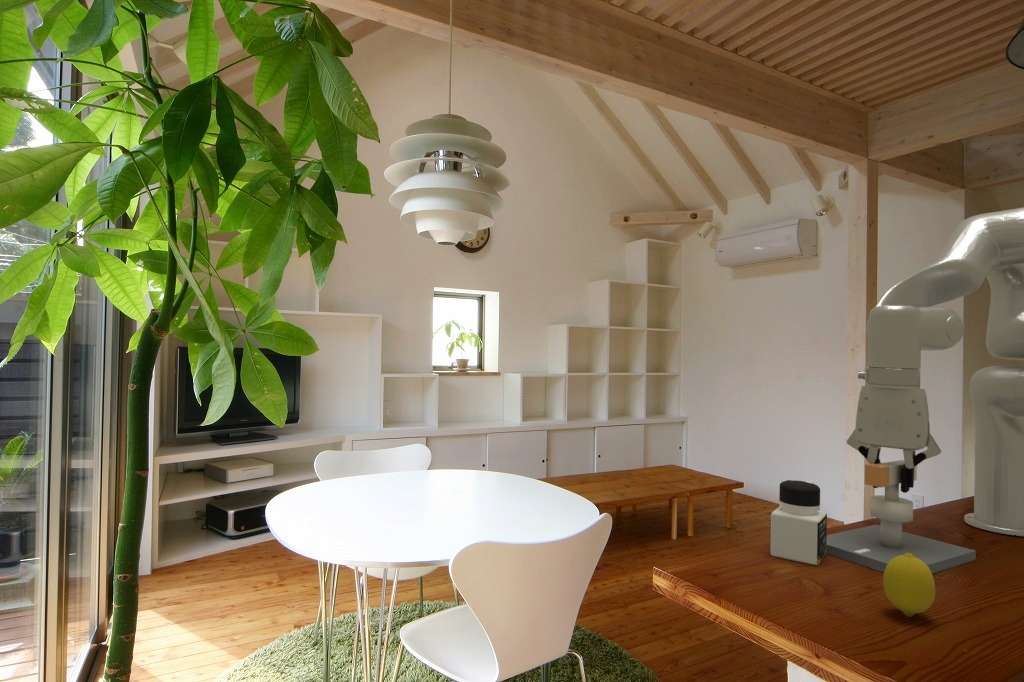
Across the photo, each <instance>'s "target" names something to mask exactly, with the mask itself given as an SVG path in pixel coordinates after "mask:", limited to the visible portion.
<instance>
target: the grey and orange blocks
mask: <svg viewBox="0 0 1024 682" xmlns="http://www.w3.org/2000/svg"><path fill="white" fill-rule="evenodd" d="M904 463H905V461H904V459H901V460H894V461H887V462H881V463H879V464H870V463H867V464H865V465H864V485H867V486H872V487H873V486H876V487H878V488H884V494H883V495H879V494H878V495H875V494H874V495H871V496H870V508H869V509H870V516H871V517H872V518H876V519H878V520H881V519H882V520H886V521H892V522H902V523H911V522H913V521H914V502H913V501H912V500H910V499H906V498H904V497H903V498H902V497H900V484H901V468H903V466H904ZM917 467H918V465H916V466H915V467H914V482H915V481H918V480H917V479H918V478H917V475H918V474H917V473H918V472H917V471H918V470H917V469H918V468H917Z"/></svg>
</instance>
